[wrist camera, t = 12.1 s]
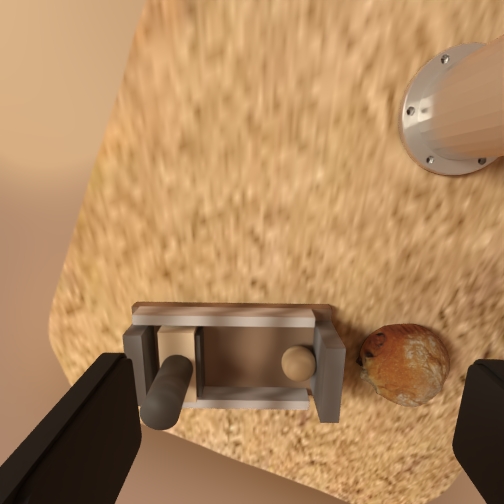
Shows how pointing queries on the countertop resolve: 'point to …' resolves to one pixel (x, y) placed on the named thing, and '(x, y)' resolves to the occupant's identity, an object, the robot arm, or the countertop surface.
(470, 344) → the countertop surface
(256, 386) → the base
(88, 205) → the countertop surface
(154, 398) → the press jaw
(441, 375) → the bread roll
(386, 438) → the countertop surface
